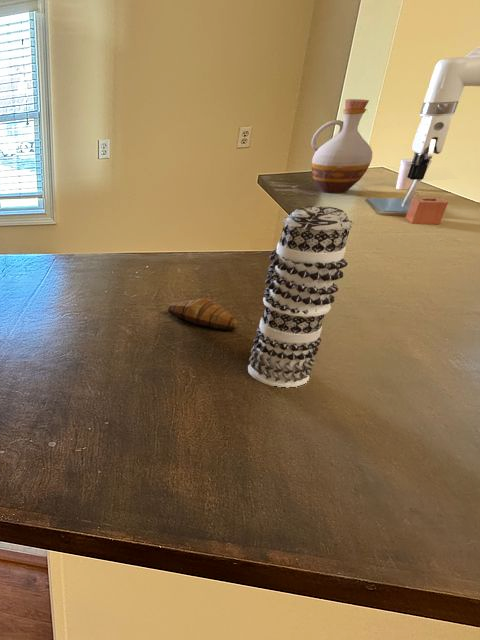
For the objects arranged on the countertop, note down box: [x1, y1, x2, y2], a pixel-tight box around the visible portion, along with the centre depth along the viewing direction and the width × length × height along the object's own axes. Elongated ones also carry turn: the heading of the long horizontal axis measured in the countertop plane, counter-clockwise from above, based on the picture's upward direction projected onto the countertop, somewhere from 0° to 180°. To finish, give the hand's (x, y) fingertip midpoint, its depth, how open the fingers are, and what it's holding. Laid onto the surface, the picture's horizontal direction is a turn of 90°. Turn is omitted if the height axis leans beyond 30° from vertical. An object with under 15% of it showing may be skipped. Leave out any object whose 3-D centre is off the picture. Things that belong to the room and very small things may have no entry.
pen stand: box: [405, 196, 449, 225], centre depth 136 cm, size 6×6×6 cm
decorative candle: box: [247, 205, 355, 389], centre depth 68 cm, size 9×9×25 cm
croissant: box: [167, 297, 239, 331], centre depth 90 cm, size 14×7×5 cm, turn 43°
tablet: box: [364, 197, 412, 216], centre depth 151 cm, size 14×20×1 cm
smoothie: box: [395, 158, 414, 191], centre depth 169 cm, size 6×6×14 cm
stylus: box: [402, 159, 433, 207], centre depth 143 cm, size 2×2×14 cm
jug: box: [311, 98, 373, 194], centre depth 170 cm, size 20×18×30 cm
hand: (415, 178), depth 142 cm, fingers closed on stylus, 1 cm apart
